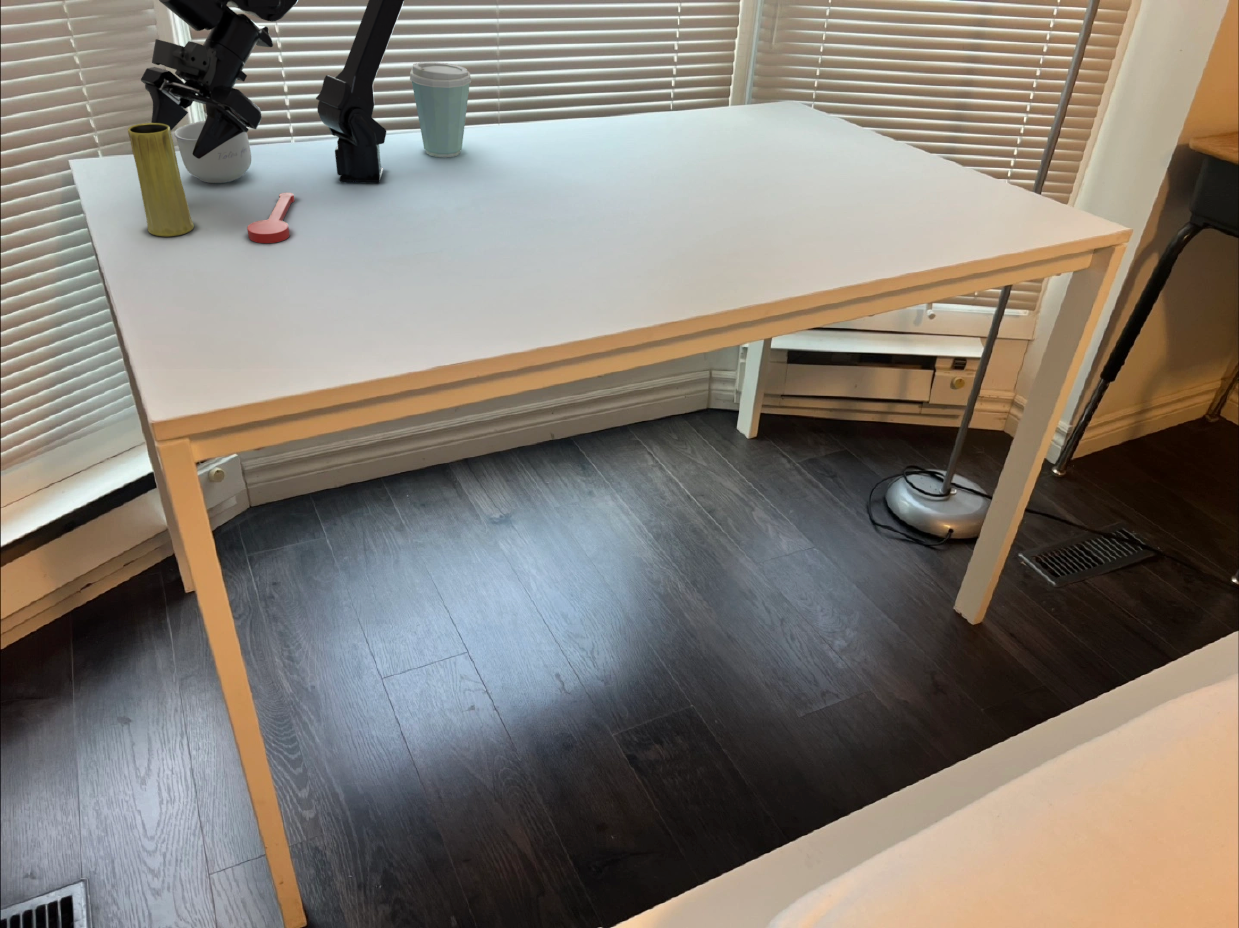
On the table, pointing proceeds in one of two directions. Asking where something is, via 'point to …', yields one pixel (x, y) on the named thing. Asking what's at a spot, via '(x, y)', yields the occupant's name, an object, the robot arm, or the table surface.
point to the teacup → (214, 155)
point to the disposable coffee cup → (441, 105)
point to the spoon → (272, 223)
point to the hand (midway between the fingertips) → (173, 149)
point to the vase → (160, 180)
